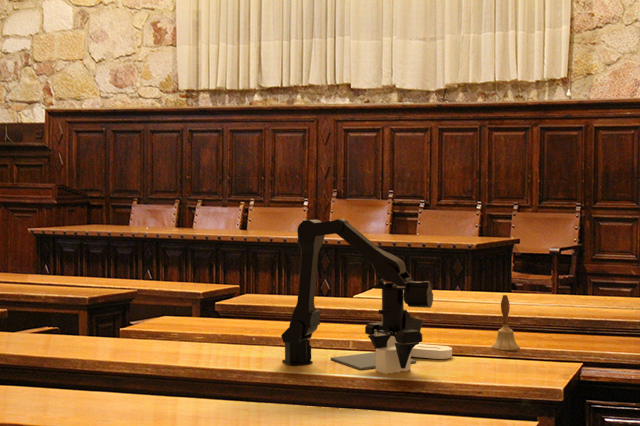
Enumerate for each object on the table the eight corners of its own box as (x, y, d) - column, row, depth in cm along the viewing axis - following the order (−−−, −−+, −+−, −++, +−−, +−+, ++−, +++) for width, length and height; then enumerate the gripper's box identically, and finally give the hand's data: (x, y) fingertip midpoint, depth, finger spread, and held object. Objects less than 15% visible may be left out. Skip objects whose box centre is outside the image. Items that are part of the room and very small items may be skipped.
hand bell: (520, 350, 240) (520, 297, 240) (491, 350, 242) (491, 296, 241) (519, 345, 248) (519, 293, 248) (491, 345, 250) (491, 293, 249)
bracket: (379, 353, 233) (379, 330, 233) (387, 349, 241) (387, 326, 241) (448, 359, 227) (449, 335, 227) (454, 354, 235) (454, 331, 235)
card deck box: (385, 374, 210) (385, 351, 210) (375, 371, 214) (375, 348, 214) (410, 371, 214) (410, 348, 214) (400, 367, 218) (400, 345, 218)
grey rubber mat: (360, 370, 215) (360, 367, 215) (330, 359, 229) (330, 357, 229) (416, 362, 224) (416, 360, 224) (383, 353, 238) (383, 351, 238)
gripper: (439, 307, 209) (439, 368, 210) (397, 300, 226) (398, 356, 226) (403, 311, 204) (403, 373, 204) (363, 303, 220) (364, 360, 221)
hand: (393, 365), depth 214 cm, fingers open, 9 cm apart
